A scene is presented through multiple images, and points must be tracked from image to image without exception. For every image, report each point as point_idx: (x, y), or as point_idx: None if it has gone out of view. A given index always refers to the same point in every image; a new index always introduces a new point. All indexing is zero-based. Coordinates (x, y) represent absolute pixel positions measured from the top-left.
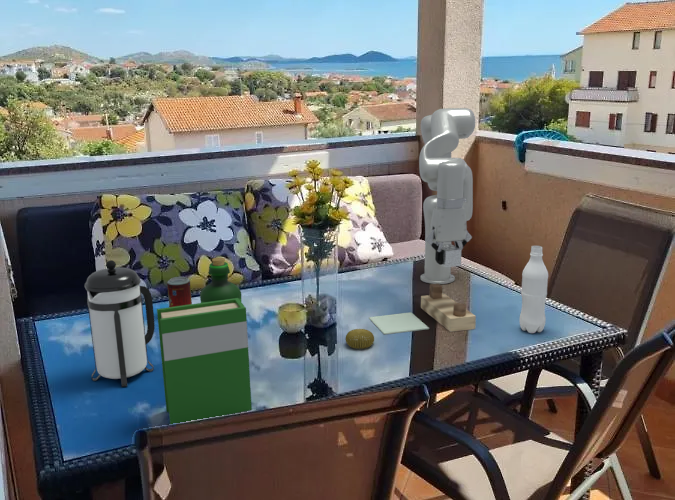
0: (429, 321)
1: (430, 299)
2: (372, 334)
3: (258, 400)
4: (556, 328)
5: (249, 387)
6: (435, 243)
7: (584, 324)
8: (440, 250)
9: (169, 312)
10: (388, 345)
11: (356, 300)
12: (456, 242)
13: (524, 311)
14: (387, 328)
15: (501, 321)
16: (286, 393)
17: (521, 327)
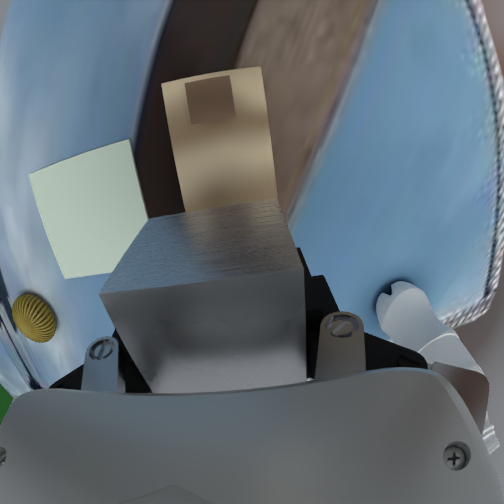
0: (172, 209)
1: (187, 125)
2: (47, 329)
3: (9, 389)
4: (435, 293)
5: (5, 413)
6: (84, 389)
7: (479, 279)
8: (144, 391)
9: None
10: (81, 324)
11: (22, 36)
12: (332, 375)
13: (392, 336)
14: (67, 253)
15: (368, 241)
16: (20, 389)
17: (376, 305)
